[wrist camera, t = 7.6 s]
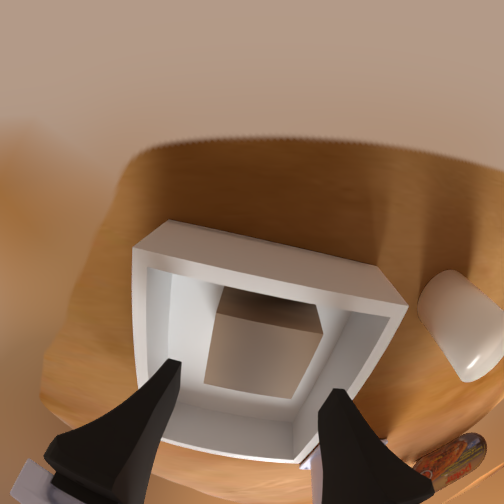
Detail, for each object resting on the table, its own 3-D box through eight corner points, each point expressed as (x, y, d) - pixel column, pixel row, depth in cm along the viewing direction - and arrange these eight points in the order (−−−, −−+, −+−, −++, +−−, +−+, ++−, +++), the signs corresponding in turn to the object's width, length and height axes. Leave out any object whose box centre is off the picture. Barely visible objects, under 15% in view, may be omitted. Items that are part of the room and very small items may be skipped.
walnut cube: (310, 284, 16) (323, 334, 12) (287, 344, 18) (290, 399, 14) (230, 266, 16) (215, 312, 12) (217, 330, 18) (203, 383, 13)
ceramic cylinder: (473, 275, 16) (524, 320, 10) (447, 327, 18) (486, 379, 12) (434, 263, 16) (490, 315, 10) (407, 321, 18) (446, 384, 11)
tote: (377, 266, 16) (409, 306, 12) (297, 422, 23) (299, 463, 18) (168, 219, 16) (132, 247, 11) (161, 396, 22) (146, 436, 18)
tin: (478, 424, 26) (493, 456, 18) (475, 430, 27) (489, 461, 19) (404, 464, 29) (414, 501, 21) (405, 468, 30) (414, 503, 22)
